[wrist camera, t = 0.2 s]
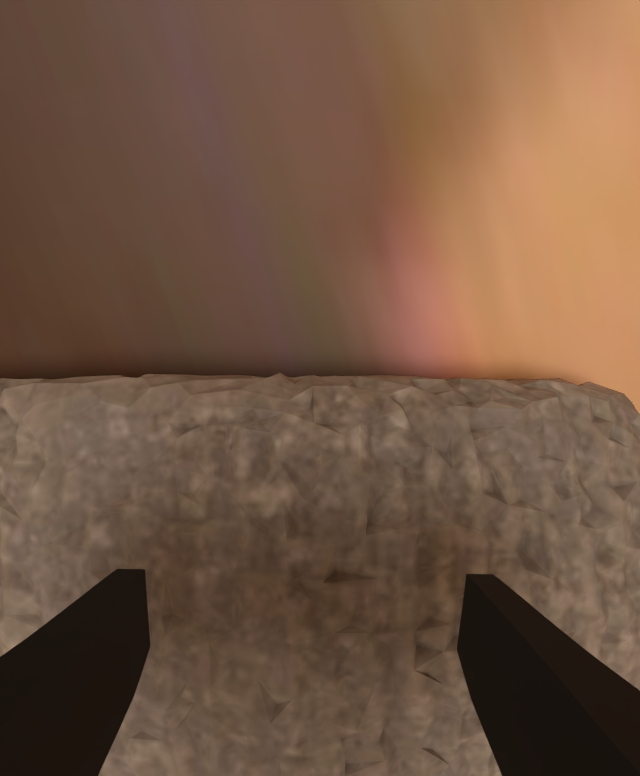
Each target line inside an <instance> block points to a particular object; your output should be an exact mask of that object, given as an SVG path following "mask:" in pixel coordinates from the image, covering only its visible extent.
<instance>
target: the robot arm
mask: <svg viewBox="0 0 640 776" xmlns="http://www.w3.org/2000/svg"><path fill="white" fill-rule="evenodd" d="M149 649H150V634H149V620H148V606H147V591H146V577H145V569H116V570H115V571H113V572H112V573H111V574H109V575H108V576H107V577H105V578H104V579H103V580H101V581H100V582H99V583H97V584H96V585H95V586H94V587H92V588H91V589H90V590H88V591H87V592H86V593H85V594H83V595H82V596H81V597H80V598H78V599H77V600H76V601H74V602H73V603H72V604H71V605H69V606H68V607H67V608H65V609H64V610H63V611H62V612H60V613H59V614H58V615H56V616H55V617H54V618H52V619H51V620H50V621H48V622H47V623H46V624H45V625H43V626H42V627H41V628H39V629H38V630H37V631H35V632H34V633H33V634H31V635H30V636H29V637H27V638H26V639H25V640H23V641H22V642H20V643H19V644H18V645H16V646H15V647H13V648H12V649H11V650H9V651H8V652H6V653H5V654H4V655H2V656H1V657H0V776H98V775H99V773H100V770H101V768H102V766H103V764H104V762H105V759H106V757H107V755H108V753H109V751H110V749H111V746H112V744H113V742H114V740H115V738H116V735H117V733H118V731H119V729H120V727H121V724H122V722H123V720H124V718H125V715H126V713H127V711H128V709H129V706H130V704H131V702H132V700H133V697H134V694H135V692H136V689H137V686H138V683H139V680H140V677H141V674H142V671H143V668H144V665H145V662H146V659H147V655H148V652H149ZM457 652H458V656H459V659H460V663H461V667H462V670H463V674H464V677H465V681H466V684H467V687H468V691H469V694H470V697H471V700H472V703H473V706H474V708H475V711H476V713H477V716H478V718H479V721H480V723H481V725H482V728H483V730H484V733H485V735H486V738H487V740H488V743H489V745H490V748H491V750H492V752H493V755H494V757H495V760H496V762H497V765H498V767H499V769H500V772H501V774H502V776H640V690H638V689H637V688H636V687H634V686H633V685H632V684H630V683H629V682H628V681H626V680H625V679H624V678H622V677H621V676H620V675H618V674H617V673H616V672H614V671H613V670H611V669H610V668H609V667H607V666H606V665H605V664H603V663H602V662H601V661H600V660H598V659H597V658H596V657H594V656H593V655H592V654H591V653H589V652H588V651H587V650H585V649H584V648H583V647H582V646H580V645H579V644H578V643H577V642H575V641H574V640H573V639H572V638H570V637H569V636H568V635H567V634H565V633H564V632H563V631H562V630H560V629H559V628H558V627H557V626H556V625H554V624H553V623H552V622H551V621H549V620H548V619H547V618H546V617H545V616H543V615H542V614H541V613H540V612H539V611H537V610H536V609H535V608H534V607H533V606H531V605H530V604H529V603H528V602H527V601H526V600H524V599H523V598H522V597H521V596H520V595H518V594H517V593H516V592H515V591H514V590H512V589H511V588H510V587H509V586H507V585H506V584H505V583H504V582H503V581H501V580H500V579H499V578H497V577H496V576H495V575H493V574H466V581H465V589H464V597H463V604H462V612H461V620H460V628H459V636H458V643H457Z"/></svg>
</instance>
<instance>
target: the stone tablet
mask: <svg viewBox="0 0 640 776" xmlns="http://www.w3.org/2000/svg"><path fill="white" fill-rule="evenodd" d="M116 569H145V577H146V591H147V606H148V620H149V634H150V649H149V652H148V655H147V659H146V662H145V665H144V668H143V671H142V674H141V677H140V680H139V683H138V686H137V689H136V692H135V694H134V697H133V700H132V702H131V704H130V706H129V709H128V711H127V713H126V715H125V718H124V720H123V722H122V724H121V727H120V729H119V731H118V733H117V735H116V738H115V740H114V742H113V744H112V746H111V749H110V751H109V753H108V755H107V757H106V759H105V762H104V764H103V766H102V768H101V770H100V773H99V775H98V776H502V774H501V772H500V769H499V767H498V765H497V762H496V760H495V757H494V755H493V752H492V750H491V748H490V745H489V743H488V740H487V738H486V735H485V733H484V730H483V728H482V725H481V723H480V721H479V718H478V716H477V713H476V711H475V708H474V706H473V703H472V700H471V697H470V694H469V691H468V687H467V684H466V681H465V677H464V674H463V670H462V667H461V663H460V659H459V656H458V652H457V643H458V636H459V628H460V620H461V612H462V604H463V597H464V589H465V581H466V574H493V575H495V576H496V577H497V578H499V579H500V580H501V581H503V582H504V583H505V584H506V585H507V586H509V587H510V588H511V589H512V590H514V591H515V592H516V593H517V594H518V595H520V596H521V597H522V598H523V599H524V600H526V601H527V602H528V603H529V604H530V605H531V606H533V607H534V608H535V609H536V610H537V611H539V612H540V613H541V614H542V615H543V616H545V617H546V618H547V619H548V620H549V621H551V622H552V623H553V624H554V625H556V626H557V627H558V628H559V629H560V630H562V631H563V632H564V633H565V634H567V635H568V636H569V637H570V638H572V639H573V640H574V641H575V642H577V643H578V644H579V645H580V646H582V647H583V648H584V649H585V650H587V651H588V652H589V653H591V654H592V655H593V656H594V657H596V658H597V659H598V660H600V661H601V662H602V663H603V664H605V665H606V666H607V667H609V668H610V669H611V670H613V671H614V672H616V673H617V674H618V675H620V676H621V677H622V678H624V679H625V680H626V681H628V682H629V683H630V684H632V685H633V686H634V687H636V688H637V689H638V690H640V414H639V413H638V412H637V410H636V409H635V407H634V405H633V404H632V402H631V401H630V400H629V399H628V398H627V397H626V396H625V394H623V393H620V392H617V391H614V390H612V389H609V388H606V387H603V386H600V385H597V384H594V383H591V382H587V383H584V384H581V385H574V384H572V383H569V382H567V381H564V380H561V379H559V378H557V379H509V380H490V379H487V378H482V379H467V378H454V379H433V378H425V377H419V376H396V375H368V376H339V375H333V376H321V377H318V376H316V375H308V376H301V377H294V378H293V377H287V376H285V375H283V374H281V373H278V374H275V375H273V376H270V377H268V378H263V377H256V376H246V375H211V376H201V375H183V374H145V375H143V376H141V377H138V378H131V377H126V376H122V375H110V376H84V377H71V378H61V379H52V380H50V379H10V378H0V657H1V656H2V655H4V654H5V653H6V652H8V651H9V650H11V649H12V648H13V647H15V646H16V645H18V644H19V643H20V642H22V641H23V640H25V639H26V638H27V637H29V636H30V635H31V634H33V633H34V632H35V631H37V630H38V629H39V628H41V627H42V626H43V625H45V624H46V623H47V622H48V621H50V620H51V619H52V618H54V617H55V616H56V615H58V614H59V613H60V612H62V611H63V610H64V609H65V608H67V607H68V606H69V605H71V604H72V603H73V602H74V601H76V600H77V599H78V598H80V597H81V596H82V595H83V594H85V593H86V592H87V591H88V590H90V589H91V588H92V587H94V586H95V585H96V584H97V583H99V582H100V581H101V580H103V579H104V578H105V577H107V576H108V575H109V574H111V573H112V572H113V571H115V570H116Z"/></svg>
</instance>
